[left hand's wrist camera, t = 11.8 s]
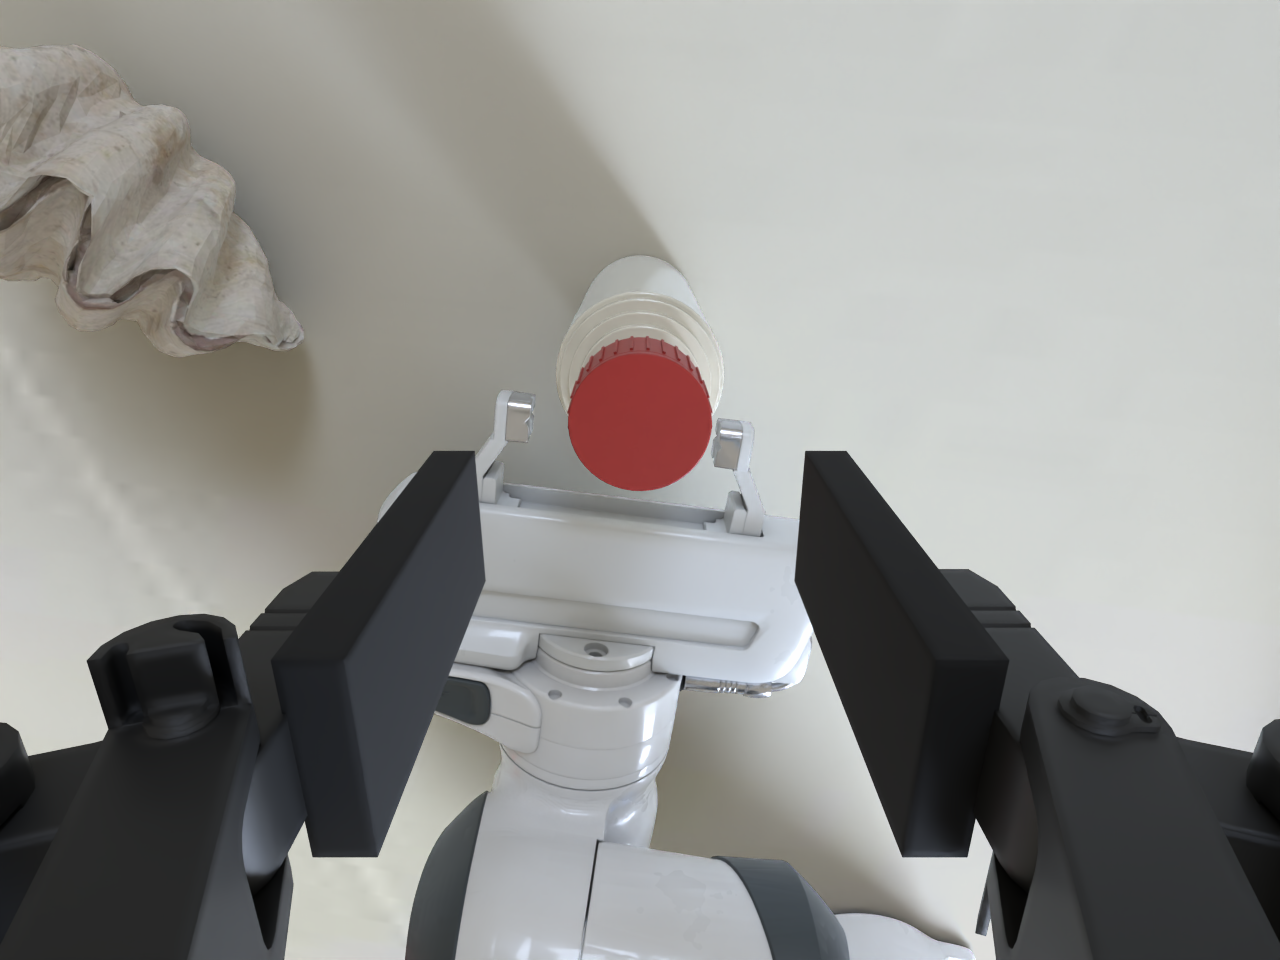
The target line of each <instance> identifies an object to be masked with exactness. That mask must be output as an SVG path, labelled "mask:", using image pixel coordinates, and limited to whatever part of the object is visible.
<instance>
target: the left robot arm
mask: <svg viewBox="0 0 1280 960" xmlns="http://www.w3.org/2000/svg"><path fill="white" fill-rule="evenodd" d="M485 581H486V578H485V567H484V555H483V543H482V531H481V520H480V508H479V496H478V485H477V473H476V461H475V451H433V453H432V454H431V455H430V456H429V458H428V459H427V460H426V462H425V463H424V464H423V465H422V467H421V468H420V469H419V470H418V472H417V473H416V474H415V476H414V477H413V478H412V479H411V481H410V482H409V483H408V485H407V486H406V487H405V488H404V490H403V491H402V492H401V494H400V495H399V496H398V497H397V499H396V500H395V501H394V503H393V504H392V505H391V506H390V508H389V509H388V510H387V512H386V513H385V514H384V515H383V517H382V518H381V519H380V520H379V522H378V523H377V524H376V526H375V527H374V528H373V529H372V531H371V532H370V533H369V535H368V536H367V537H366V538H365V540H364V541H363V542H362V544H361V545H360V546H359V547H358V549H357V550H356V551H355V553H354V554H353V555H352V556H351V558H350V559H349V560H348V561H347V563H346V564H345V565H344V567H343V568H342V569H341V570H340V572H311V573H309V574H307V575H306V576H304V577H302V578H301V579H299V580H297V581H296V582H294V583H292V584H291V585H289V586H287V587H286V588H284V589H283V590H282V591H281V592H280V593H279V594H278V595H277V596H276V597H275V599H274V600H273V601H272V602H271V603H270V604H269V605H268V606H267V608H266V609H265V613H261V614H260V615H259V617H258V618H257V619H256V620H255V621H254V622H253V623H252V624H251V626H250V631H245V632H244V633H243V635H242V636H241V637H240V638H239V639H238V636H237V632H236V627H235V625H234V624H232V623H231V622H230V621H228V620H227V619H225V618H224V617H219V616H214V615H208V614H193V615H178V616H174V617H169V618H165V619H161V620H156V621H152V622H149V623H146V624H144V625H141V626H139V627H136V628H133V629H131V630H128V631H126V632H123V633H122V634H120V635H118V636H117V637H115V638H113V639H112V640H110V641H108V642H107V643H105V644H103V645H102V646H100V648H99V649H98V650H97V651H96V652H95V653H94V654H93V655H92V656H91V657H90V658H89V659H88V660H87V663H88V667H89V670H90V673H91V676H92V679H93V682H94V685H95V688H96V691H97V695H98V698H99V701H100V704H101V707H102V710H103V713H104V716H105V719H106V723H107V726H108V731H107V733H106V735H105V737H104V739H103V741H99V742H95V743H91V744H86V745H81V746H76V747H71V748H66V749H61V750H56V751H51V752H46V753H42V754H37V755H32V756H28V755H27V753H26V750H25V747H24V745H23V742H22V739H21V737H20V734H19V732H18V731H17V730H16V729H14V728H13V727H11V726H10V725H8V724H7V723H0V960H284V956H285V948H286V940H287V932H288V924H289V916H290V908H291V901H292V893H293V878H292V871H291V866H290V862H289V857H288V851H289V849H290V848H291V846H292V844H293V842H294V840H295V838H296V836H297V834H298V832H299V831H300V829H301V827H302V825H303V823H304V821H305V824H306V828H307V833H308V838H309V842H310V847H311V852H312V856H313V857H378V855H379V852H380V850H381V847H382V845H383V842H384V840H385V837H386V834H387V832H388V829H389V827H390V824H391V822H392V819H393V817H394V814H395V811H396V809H397V806H398V804H399V801H400V799H401V796H402V794H403V791H404V788H405V786H406V783H407V781H408V778H409V776H410V773H411V771H412V768H413V765H414V763H415V760H416V758H417V755H418V753H419V750H420V748H421V745H422V742H423V740H424V737H425V735H426V732H427V730H428V727H429V725H430V722H431V719H432V717H433V714H434V712H435V709H436V707H437V704H438V702H439V699H440V696H441V694H442V691H443V689H444V686H445V684H446V681H447V679H448V676H449V673H450V671H451V668H452V666H453V663H454V661H455V658H456V656H457V653H458V650H459V648H460V645H461V643H462V640H463V638H464V635H465V633H466V630H467V627H468V625H469V622H470V620H471V617H472V615H473V612H474V610H475V607H476V604H477V602H478V599H479V597H480V594H481V592H482V589H483V587H484V584H485ZM794 581H795V584H796V587H797V589H798V592H799V594H800V597H801V599H802V602H803V604H804V607H805V610H806V612H807V615H808V617H809V620H810V622H811V625H812V627H813V630H814V633H815V635H816V638H817V640H818V643H819V645H820V648H821V650H822V653H823V656H824V658H825V661H826V663H827V666H828V668H829V671H830V673H831V676H832V679H833V681H834V684H835V686H836V689H837V691H838V694H839V696H840V699H841V702H842V704H843V707H844V709H845V712H846V714H847V717H848V719H849V722H850V725H851V727H852V730H853V732H854V735H855V737H856V740H857V742H858V745H859V748H860V750H861V753H862V755H863V758H864V760H865V763H866V765H867V768H868V771H869V773H870V776H871V778H872V781H873V783H874V786H875V788H876V791H877V794H878V796H879V799H880V801H881V804H882V806H883V809H884V811H885V814H886V817H887V819H888V822H889V824H890V827H891V829H892V832H893V834H894V837H895V840H896V842H897V845H898V847H899V850H900V852H901V855H902V857H967V856H968V852H969V847H970V842H971V838H972V833H973V828H974V824H975V819H977V821H978V823H979V825H980V827H981V829H982V830H983V832H984V834H985V836H986V838H987V840H988V842H989V844H990V845H991V847H992V849H993V853H992V857H991V862H990V866H989V870H988V875H987V879H986V883H985V888H984V892H983V896H982V901H981V905H980V910H979V914H978V919H977V926H976V932H975V933H977V934H980V935H984V936H986V934H987V930H988V926H989V921H990V919H991V922H992V930H993V938H994V946H995V954H996V960H1280V719H1276V720H1274V721H1272V722H1271V723H1269V724H1268V725H1266V726H1265V727H1264V728H1263V729H1262V731H1261V734H1260V737H1259V739H1258V742H1257V745H1256V747H1255V750H1254V753H1251V752H1246V751H1241V750H1236V749H1231V748H1226V747H1221V746H1216V745H1211V744H1206V743H1201V742H1196V741H1191V740H1186V739H1183V738H1179V737H1176V736H1175V734H1174V732H1173V730H1172V728H1171V727H1170V726H1169V724H1168V723H1167V722H1166V721H1165V719H1164V718H1163V717H1162V716H1161V714H1160V713H1159V712H1158V711H1156V710H1155V709H1154V708H1152V707H1151V706H1149V705H1148V704H1147V703H1145V702H1144V701H1142V700H1141V699H1139V698H1138V697H1136V696H1134V695H1132V694H1130V693H1127V692H1125V691H1123V690H1121V689H1119V688H1116V687H1114V686H1112V685H1109V684H1105V683H1101V682H1097V681H1093V680H1089V679H1086V678H1079V677H1078V676H1077V675H1076V674H1075V673H1074V671H1073V670H1072V669H1071V668H1070V667H1069V666H1068V665H1067V664H1066V662H1065V661H1064V660H1063V659H1062V658H1061V657H1060V656H1059V655H1058V654H1057V652H1056V651H1055V650H1054V649H1053V648H1052V647H1051V646H1050V645H1049V643H1048V642H1047V641H1046V640H1045V639H1044V638H1043V637H1042V636H1041V635H1040V633H1039V632H1038V631H1037V630H1036V629H1035V628H1031V623H1030V622H1029V621H1028V620H1027V619H1026V618H1025V617H1024V616H1023V614H1022V613H1021V612H1020V611H1016V609H1015V608H1016V607H1015V605H1014V604H1013V603H1012V602H1011V601H1010V600H1009V599H1008V598H1007V597H1006V595H1005V594H1004V593H1003V592H1002V591H1001V590H1000V589H999V588H998V586H996V585H994V584H992V583H991V582H989V581H987V580H986V579H984V578H982V577H981V576H979V575H977V574H975V573H974V572H972V571H970V570H969V569H938V568H937V567H936V565H935V564H934V563H933V561H932V560H931V559H930V558H929V556H928V555H927V554H926V553H925V551H924V550H923V549H922V547H921V546H920V545H919V544H918V542H917V541H916V540H915V538H914V537H913V536H912V535H911V533H910V532H909V531H908V529H907V528H906V527H905V526H904V524H903V523H902V522H901V520H900V519H899V518H898V517H897V515H896V514H895V513H894V512H893V510H892V509H891V508H890V506H889V505H888V504H887V503H886V501H885V500H884V499H883V497H882V496H881V495H880V494H879V492H878V491H877V490H876V488H875V487H874V486H873V485H872V483H871V482H870V481H869V479H868V478H867V477H866V476H865V474H864V473H863V472H862V470H861V469H860V468H859V467H858V465H857V464H856V463H855V462H854V460H853V459H852V458H851V456H850V455H849V454H848V453H847V451H805V461H804V473H803V485H802V496H801V508H800V520H799V531H798V543H797V555H796V567H795V578H794Z"/></svg>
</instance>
